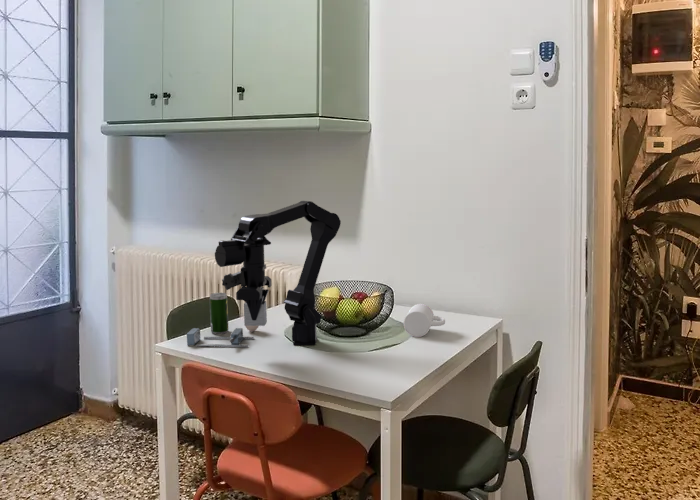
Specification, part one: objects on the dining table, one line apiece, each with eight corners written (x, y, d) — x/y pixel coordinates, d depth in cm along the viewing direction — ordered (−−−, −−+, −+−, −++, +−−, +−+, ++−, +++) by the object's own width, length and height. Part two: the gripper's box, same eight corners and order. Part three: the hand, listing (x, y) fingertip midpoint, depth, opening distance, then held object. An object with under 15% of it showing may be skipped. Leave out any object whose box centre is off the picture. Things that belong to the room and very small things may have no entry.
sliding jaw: (243, 339, 193) (242, 328, 193) (235, 349, 184) (235, 337, 183) (235, 338, 194) (234, 328, 193) (227, 348, 184) (227, 337, 183)
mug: (403, 336, 195) (403, 310, 194) (408, 327, 205) (408, 303, 203) (443, 338, 192) (443, 312, 191) (446, 329, 202) (447, 304, 201)
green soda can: (214, 335, 198) (213, 297, 196) (208, 331, 202) (206, 294, 201) (231, 332, 201) (229, 294, 199) (224, 328, 205) (222, 291, 203)
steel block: (247, 322, 180) (246, 301, 179) (266, 322, 180) (266, 301, 179) (244, 325, 177) (243, 304, 176) (264, 325, 176) (263, 304, 175)
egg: (254, 334, 199) (253, 310, 198) (241, 332, 201) (240, 309, 200) (262, 330, 203) (262, 307, 202) (250, 328, 205) (249, 305, 204)
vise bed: (253, 338, 194) (253, 327, 194) (247, 347, 186) (247, 335, 185) (194, 338, 195) (193, 327, 195) (186, 346, 187) (185, 335, 186)
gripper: (232, 256, 185) (234, 309, 188) (215, 268, 167) (218, 327, 169) (271, 256, 185) (272, 310, 187) (258, 268, 166) (260, 327, 169)
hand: (255, 318), depth 178 cm, fingers closed on steel block, 3 cm apart
